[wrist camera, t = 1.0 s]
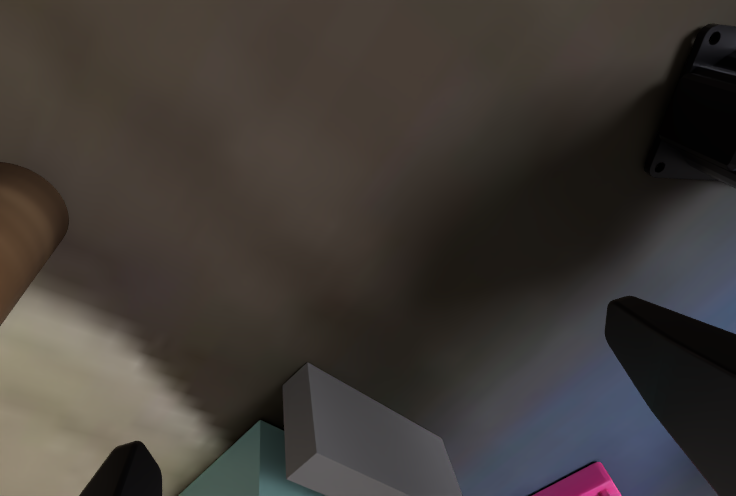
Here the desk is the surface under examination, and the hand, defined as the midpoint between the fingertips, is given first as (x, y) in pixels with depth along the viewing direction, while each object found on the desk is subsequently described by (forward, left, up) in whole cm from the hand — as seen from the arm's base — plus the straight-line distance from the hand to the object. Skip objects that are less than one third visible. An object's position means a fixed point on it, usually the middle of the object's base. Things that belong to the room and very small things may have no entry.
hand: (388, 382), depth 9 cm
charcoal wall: (-4, +15, -13) cm, 20 cm away
